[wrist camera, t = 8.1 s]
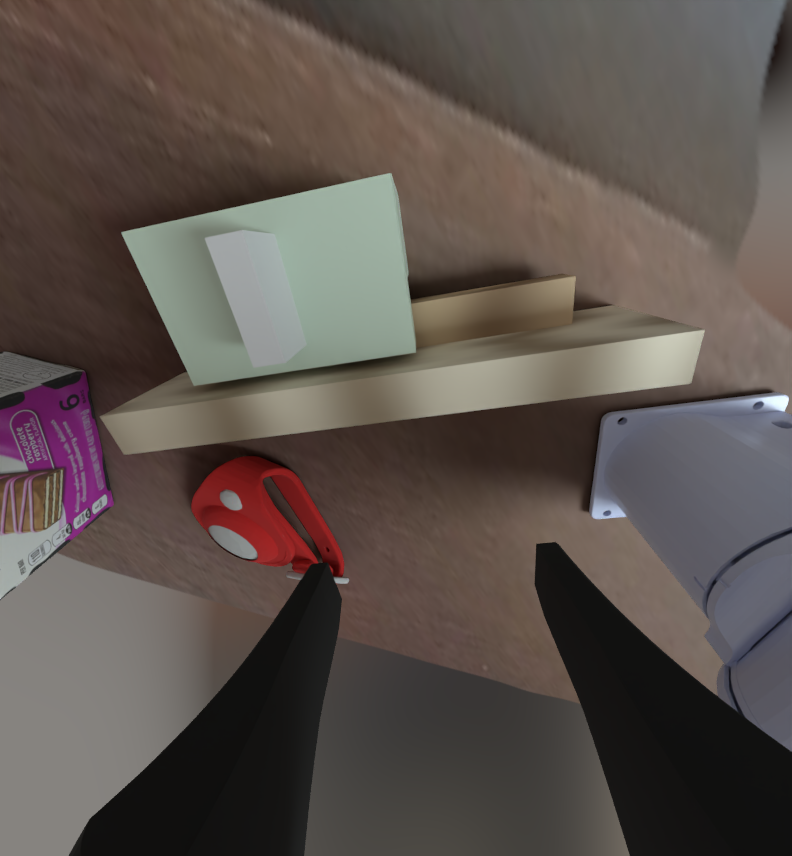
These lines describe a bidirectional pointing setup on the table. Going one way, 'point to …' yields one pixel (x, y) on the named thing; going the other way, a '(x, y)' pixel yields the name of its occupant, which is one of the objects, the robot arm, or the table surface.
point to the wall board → (431, 370)
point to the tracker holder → (263, 517)
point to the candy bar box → (45, 463)
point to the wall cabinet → (282, 282)
